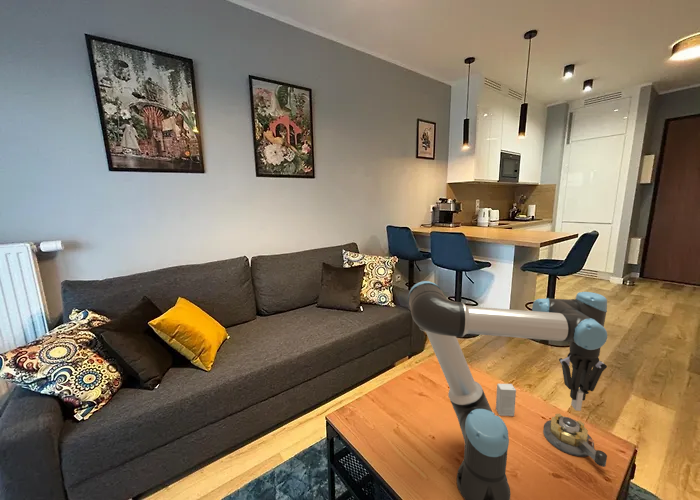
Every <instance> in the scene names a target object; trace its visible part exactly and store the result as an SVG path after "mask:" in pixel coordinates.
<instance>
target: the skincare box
mask: <svg viewBox="0 0 700 500" xmlns="http://www.w3.org/2000/svg"><path fill="white" fill-rule="evenodd" d="M495 396H496V397H495V410H496V412H497V414H498V416H499V417H500V416H502V417H503V416H506V417H515V409H516V398H517V397H516V396H517V390H516V388H515V387H514V385H513V383H497V384H496V395H495Z"/></svg>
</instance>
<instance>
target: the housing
mask: <svg viewBox="0 0 700 500" xmlns="http://www.w3.org/2000/svg"><path fill="white" fill-rule="evenodd" d="M575 420H576V419H573V418H571V417H569V416H565V417H561V418H560V419H559V425H560V426H561V427H562V428H561V430H562V431H563V432H566V433H569V434H571V435H576V432H579V428H580V425H579V424H578V422H576V421H577V420H576V421H575ZM550 427H551V419H549V420H547V421H545V422H544V425H543V431H542V433H543V436H544V438H545V439H546V440H547V442H549V444H550V445H552V446H553V447H554V448H556V449H557V450H559V451H561V452H563V453H564V454H567V455H571V456H572V457H574V456H575V457H580V458H586V457H590V456H589V455H588V454H587V453H586V452H585V451H584V450H582V449H581V448H580V447H579V446H577V447H576V446H575V445H574V446H572V445H570V444H567V443H564V442H562V441H561V440H559V439H558V438H557V437H555V436H554V435H553V434H552V433H551V432H550ZM587 443H588V444H589V445H590V446H591V447H593V448H594V447H595V442H594V439H593V438H592V437H591V436H590V435H589V434H588V438H587ZM594 449H595V448H594Z"/></svg>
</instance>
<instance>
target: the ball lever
mask: <svg viewBox="0 0 700 500" xmlns="http://www.w3.org/2000/svg"><path fill="white" fill-rule="evenodd" d="M561 417H566V416H564V415H562V414H561V413H555V416H552V417H551V419H550V420H551V427H550V432H551V433H552V434H553V435H554V436H555V437H557V438H558V439H559V440H561V441H562V442H564V443H567V444H570V445H572V446H574V445H575V446H576V447H577V446H579V447H580V448H581V449H582V450H584V451H585V452H586V453H587V454H588V455H589V456H588V457H590V458H591V459H592V460H593V461H594V463H595V464H596V465H597V466H600V467H602V468H605V467H606V465H607V459H608V455H607V454H606V453H605V451H603V450H599V449H597V450H596V449H595V448H593V447H591V446H590V445H589V444H588V443H587V438H588V435H589V434H588V429H587V428H586V427H585V423H584V422H583V421H582V420H576V419H574V420H575V421H576V422H578V424H579V425H580V428H579V432H576V435H571V434H569V433H566V432H563V431H562V430H561V428H562V427H561V426H560V425H559V419H560V418H561Z"/></svg>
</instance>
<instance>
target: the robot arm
mask: <svg viewBox="0 0 700 500" xmlns="http://www.w3.org/2000/svg"><path fill="white" fill-rule="evenodd" d="M407 303H408V304H409V309H410V313H411V314H410V315H411V318H412V320H413V322H414V323H415V325H417V326H418V328H419V330H420V331H422V332H425V333H426V335H427V338H428V340H429V343H430V345H431V348H432V349H433V352H434V355H435V357H436V359H437V362H438V364H439V366H440V368H441V371H442V373H443V376H444V378H445V380H446V383H447V385H448V387H449V391H448V393H447V395H448V398H449V399H448V400H450V403H451V405H452V408H453V411H454V413H455V415H456V418H457V420H458V424H459V427H460V430H461V434H462V437H463V440H464V441H463V442H464V450H463V451H464V453H463V460H462V462H461V464H460V466H459V467H458V469H457V473H456V474H457V475H456V484H457V485H456V486H457V489H458V491H459V493H460V495H461V496H462V498H463V499H464V500H511V487H510V485H509V481H508V478H507V475H506V474H507V473H506V470H507V462H508V461H507V459H508V450H509V445H510V439H509V437H510V436H509V430H508V427H507V425H506V423H505V422H504V420H503V419H502V417H500V415H496V414H495V412H494V411H493V410H492V408H491V406H490V404H489V401H488V399H487V396H486V394H485V392H484V389H483V387H482V385H481V384H480V383H479V382H478V381H475V379H474V377H473V375H472V372H471V369H470V367H469V365H468V362H467V360H466V358H465V355H464V352H463V350H462V347H461V345H460V342H459V340H458V338H463V337H465V335H467V334H468V335H469V334H470V335H480V336H494V337H495V336H496V337H509V338H519V339H531V340H545V341H558V342H568V343H569V353H568V354H567V357H565V358H561V357H560V358H559V359H558V362H560V365H561V369H562V376H563V382H564V385H565V386H566V388H568V390H570V391H569V397H570V398H571V403H570V405H571V406H572V408H573V409H574V411H578V412H581V411H582V405H583V401H585V400H586V396H587V395H588V394H590V391H591V392H594V391H595V388H596V387H597V384H598V383H599V379H600V378H601V376H602V374H603V372H604V371H605V370H606V369H607V367H608V365H606V364H605V363H604V362H603V361H601V360H600V358H599V357H600V354H601V348H602V347H603V346H605V344H606V342H607V340H608V331H607V330H606V328H605V327H604V326H605V322H606V315H607V312H608V311H607V310H608V299H607V298H606V297H605V296H604V295H602V294H600V293H597V292H591V291H582V292H580V291H579V292H577V293H576V296H575V298H574V299H573V298H572V299H571V298H570V299H565V298H563V299H562V298H549V297H546V298H537V299H535V300H534V301H533V303H532V307H531V308H532V309H531V310H523V309H509V308H495V307H494V308H493V307H483V306H482V307H481V306H480V307H479V306H469V305H466V304H465V303H464V302H462V301H461V302H460V301H453V300H449V299H448V298H446V296H445V294H444V291H443V290H442V288H441V287H440V286H439V285H438V284H436V283H435V282H432V281H429V280H423V281H420V282H417V283H415V284H414V285H413V286H412V287H410V290H409V292H408V296H407ZM457 337H458V338H457ZM570 363H571V368H570ZM571 369H572V370H571ZM571 371H572V372H571Z"/></svg>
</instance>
